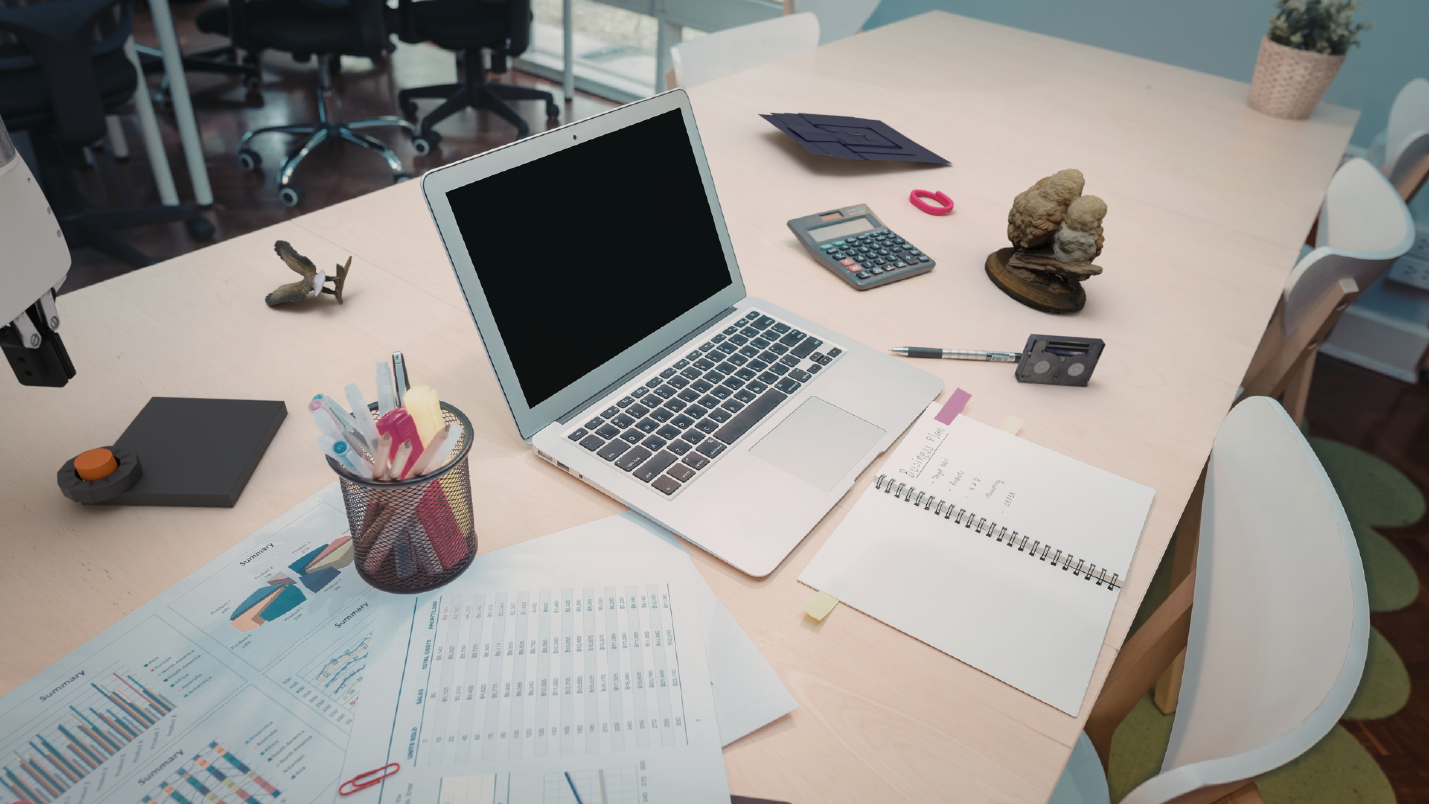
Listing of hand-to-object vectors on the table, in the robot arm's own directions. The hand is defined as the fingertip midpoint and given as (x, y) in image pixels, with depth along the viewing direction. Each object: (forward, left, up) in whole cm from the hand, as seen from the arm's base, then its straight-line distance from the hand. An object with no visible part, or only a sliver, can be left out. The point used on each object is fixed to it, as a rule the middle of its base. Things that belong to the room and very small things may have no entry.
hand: (49, 380), depth 62 cm
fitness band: (+92, +71, -12) cm, 117 cm away
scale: (+5, +5, -12) cm, 14 cm away
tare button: (0, 0, -9) cm, 9 cm away
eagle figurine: (+6, +33, -12) cm, 35 cm away
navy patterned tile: (+83, +95, -12) cm, 127 cm away
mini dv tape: (+93, +22, -12) cm, 96 cm away
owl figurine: (+100, +45, -12) cm, 110 cm away
